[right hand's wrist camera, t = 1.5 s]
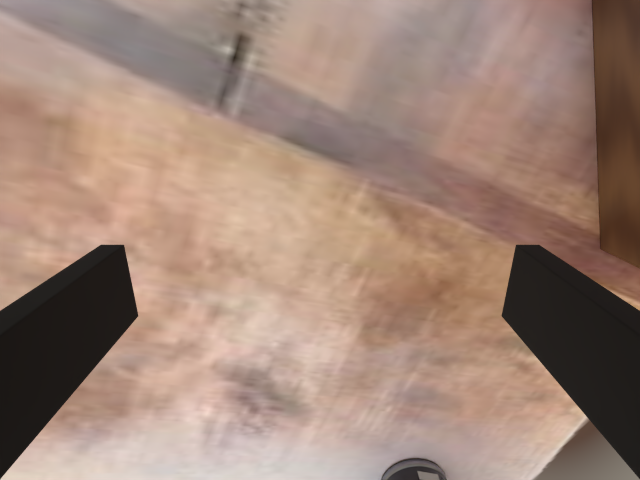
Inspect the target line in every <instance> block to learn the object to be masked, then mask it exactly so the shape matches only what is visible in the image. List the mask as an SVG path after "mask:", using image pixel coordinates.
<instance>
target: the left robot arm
mask: <svg viewBox="0 0 640 480" xmlns="http://www.w3.org/2000/svg"><path fill="white" fill-rule="evenodd" d="M382 480H447V479H446V476H445V474H444V472H443V470H442V469H441V468H440V467H439V466H437V465H436V464H434V463H432V462H429V461H426V460H419V459H413V460H406V461H403V462H400V463H398V464H396V465H394V466H392V467H391V468H390V469H388V470H387V472H386V473H385V474H384V476H383V478H382Z"/></svg>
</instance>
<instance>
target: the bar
mask: <svg viewBox="0 0 640 480" xmlns="http://www.w3.org/2000/svg"><path fill="white" fill-rule="evenodd" d="M592 5H593V35H594V65H595V94H596V124H597V154H598V184H599V214H600V244H601V250H603V251H606V252H608V253H610V254H612V255H614V256H616V257H618V258H620V259H622V260H624V261H626V262H628V263H630V264H632V265H634V266H636V267H638V268H640V0H592Z"/></svg>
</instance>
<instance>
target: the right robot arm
mask: <svg viewBox="0 0 640 480" xmlns="http://www.w3.org/2000/svg"><path fill="white" fill-rule="evenodd" d="M137 317H138V312H137V307H136V302H135V297H134V292H133V287H132V283H131V278H130V273H129V268H128V263H127V258H126V253H125V248H124V245H100V246H99V247H97V248H96V249H94V250H92V251H91V252H89V253H88V254H86V255H85V256H83V257H82V258H80V259H79V260H77V261H76V262H74V263H73V264H71V265H70V266H68V267H67V268H65V269H63V270H62V271H60V272H59V273H57V274H56V275H54V276H53V277H51V278H50V279H48V280H47V281H45V282H44V283H42V284H41V285H39V286H38V287H36V288H34V289H33V290H31V291H30V292H28V293H27V294H25V295H24V296H22V297H21V298H19V299H18V300H16V301H15V302H13V303H12V304H10V305H9V306H7V307H5V308H4V309H2V310H1V311H0V479H1V477H2V476H3V475H4V474H5V473H6V472H7V470H8V469H9V468H10V467H11V466H12V464H13V463H14V462H15V461H16V460H17V459H18V457H19V456H20V455H21V454H22V453H23V452H24V450H25V449H26V448H27V447H28V446H29V444H30V443H31V442H32V441H33V440H34V439H35V437H36V436H37V435H38V434H39V433H40V431H41V430H42V429H43V428H44V427H45V426H46V424H47V423H48V422H49V421H50V420H51V418H52V417H53V416H54V415H55V414H56V413H57V411H58V410H59V409H60V408H61V407H62V405H63V404H64V403H65V402H66V401H67V400H68V398H69V397H70V396H71V395H72V394H73V392H74V391H75V390H76V389H77V388H78V387H79V385H80V384H81V383H82V382H83V381H84V379H85V378H86V377H87V376H88V375H89V374H90V372H91V371H92V370H93V369H94V368H95V366H96V365H97V364H98V363H99V362H100V361H101V359H102V358H103V357H104V356H105V355H106V353H107V352H108V351H109V350H110V349H111V348H112V346H113V345H114V344H115V343H116V342H117V341H118V339H119V338H120V337H121V336H122V335H123V333H124V332H125V331H126V330H127V329H128V328H129V326H130V325H131V324H132V323H133V322H134V320H135V319H136V318H137ZM502 317H503V318H504V319H505V320H506V322H507V323H508V324H509V325H510V326H511V328H512V329H513V330H514V331H515V332H516V333H517V335H518V336H519V337H520V338H521V339H522V341H523V342H524V343H525V344H526V345H527V346H528V348H529V349H530V350H531V351H532V352H533V354H534V355H535V356H536V357H537V358H538V359H539V361H540V362H541V363H542V364H543V365H544V366H545V368H546V369H547V370H548V371H549V372H550V374H551V375H552V376H553V377H554V378H555V379H556V381H557V382H558V383H559V384H560V385H561V387H562V388H563V389H564V390H565V391H566V392H567V394H568V395H569V396H570V397H571V398H572V400H573V401H574V402H575V403H576V404H577V405H578V407H579V408H580V409H581V410H582V411H583V413H584V414H585V415H586V416H587V417H588V418H589V420H590V421H591V422H592V423H593V424H594V425H595V427H596V428H597V429H598V430H599V431H600V433H601V434H602V435H603V436H604V437H605V438H606V440H607V441H608V442H609V443H610V444H611V446H612V447H613V448H614V449H615V450H616V452H617V453H618V454H619V455H620V456H621V457H622V459H623V460H624V461H625V462H626V463H627V464H628V466H629V467H630V468H631V469H632V470H633V472H634V473H635V474H636V475H637V476H638V477H639V479H640V311H639V310H638V309H636V308H635V307H633V306H631V305H630V304H628V303H627V302H625V301H624V300H622V299H621V298H619V297H618V296H616V295H615V294H613V293H612V292H610V291H609V290H607V289H606V288H604V287H602V286H601V285H599V284H598V283H596V282H595V281H593V280H592V279H590V278H589V277H587V276H586V275H584V274H583V273H581V272H580V271H578V270H577V269H575V268H573V267H572V266H570V265H569V264H567V263H566V262H564V261H563V260H561V259H560V258H558V257H557V256H555V255H554V254H552V253H551V252H549V251H548V250H546V249H544V248H543V247H541V246H540V245H516V248H515V253H514V258H513V263H512V268H511V273H510V278H509V282H508V287H507V292H506V297H505V302H504V307H503V312H502Z"/></svg>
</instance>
